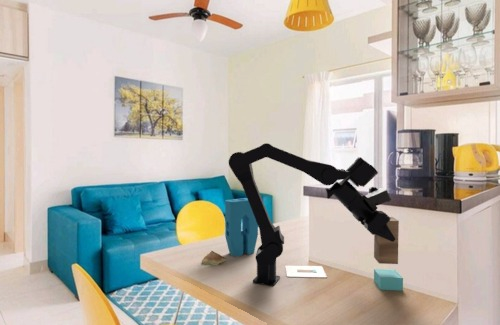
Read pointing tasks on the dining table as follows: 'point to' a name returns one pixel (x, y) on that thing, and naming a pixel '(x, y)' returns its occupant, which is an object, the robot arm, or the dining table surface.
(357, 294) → the dining table surface
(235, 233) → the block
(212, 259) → the shard
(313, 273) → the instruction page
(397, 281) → the teal base block
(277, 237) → the robot arm
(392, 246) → the walnut brick
